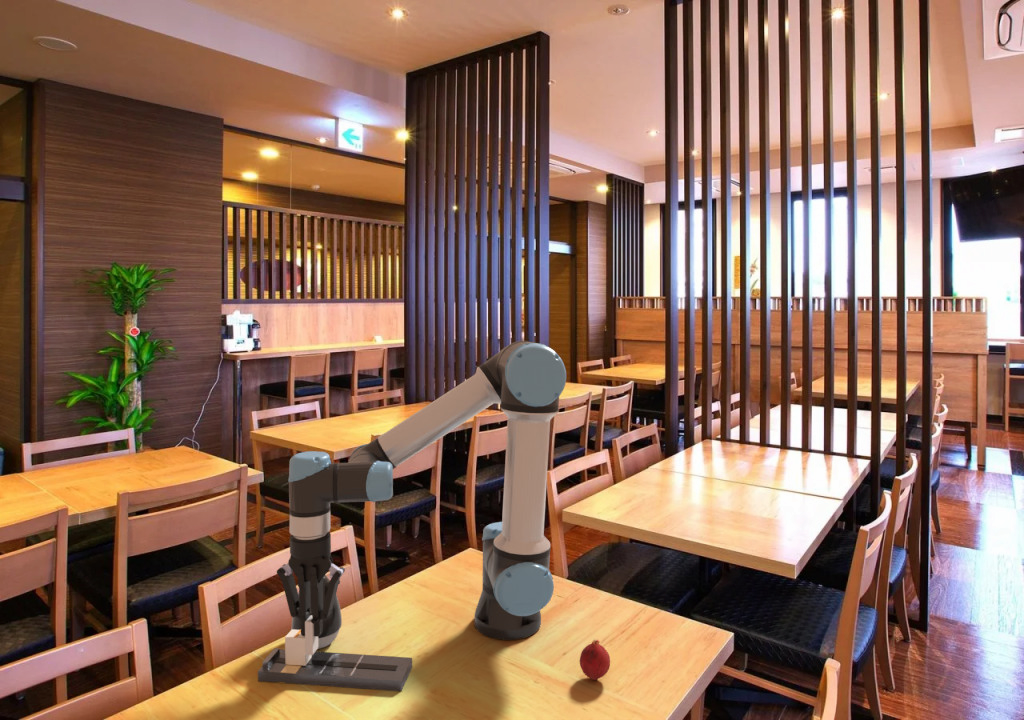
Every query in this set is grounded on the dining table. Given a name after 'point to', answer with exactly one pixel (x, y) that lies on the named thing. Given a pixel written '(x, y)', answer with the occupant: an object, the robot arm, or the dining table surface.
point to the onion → (594, 660)
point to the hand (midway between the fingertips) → (312, 650)
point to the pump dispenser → (330, 623)
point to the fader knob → (295, 649)
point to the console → (339, 670)
